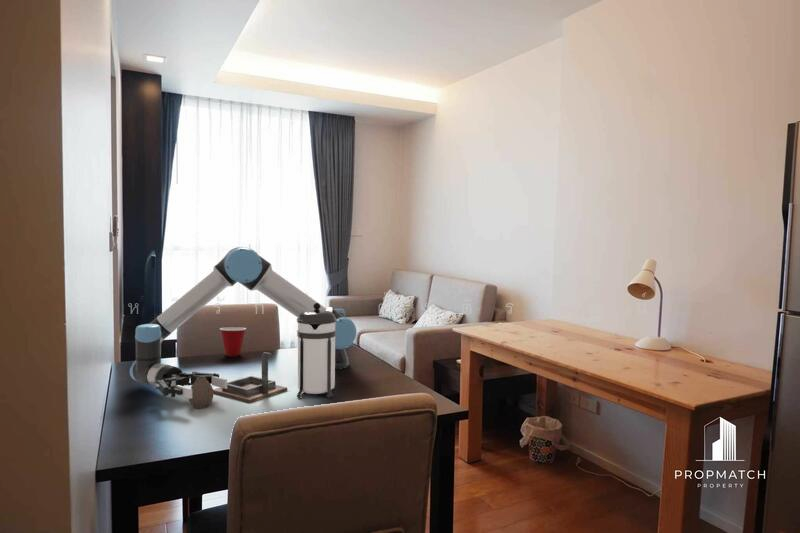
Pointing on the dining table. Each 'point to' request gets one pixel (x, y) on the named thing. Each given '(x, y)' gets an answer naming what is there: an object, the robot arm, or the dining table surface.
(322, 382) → the coffee press
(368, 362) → the dining table surface
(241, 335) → the plastic cup
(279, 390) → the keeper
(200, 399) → the vase
